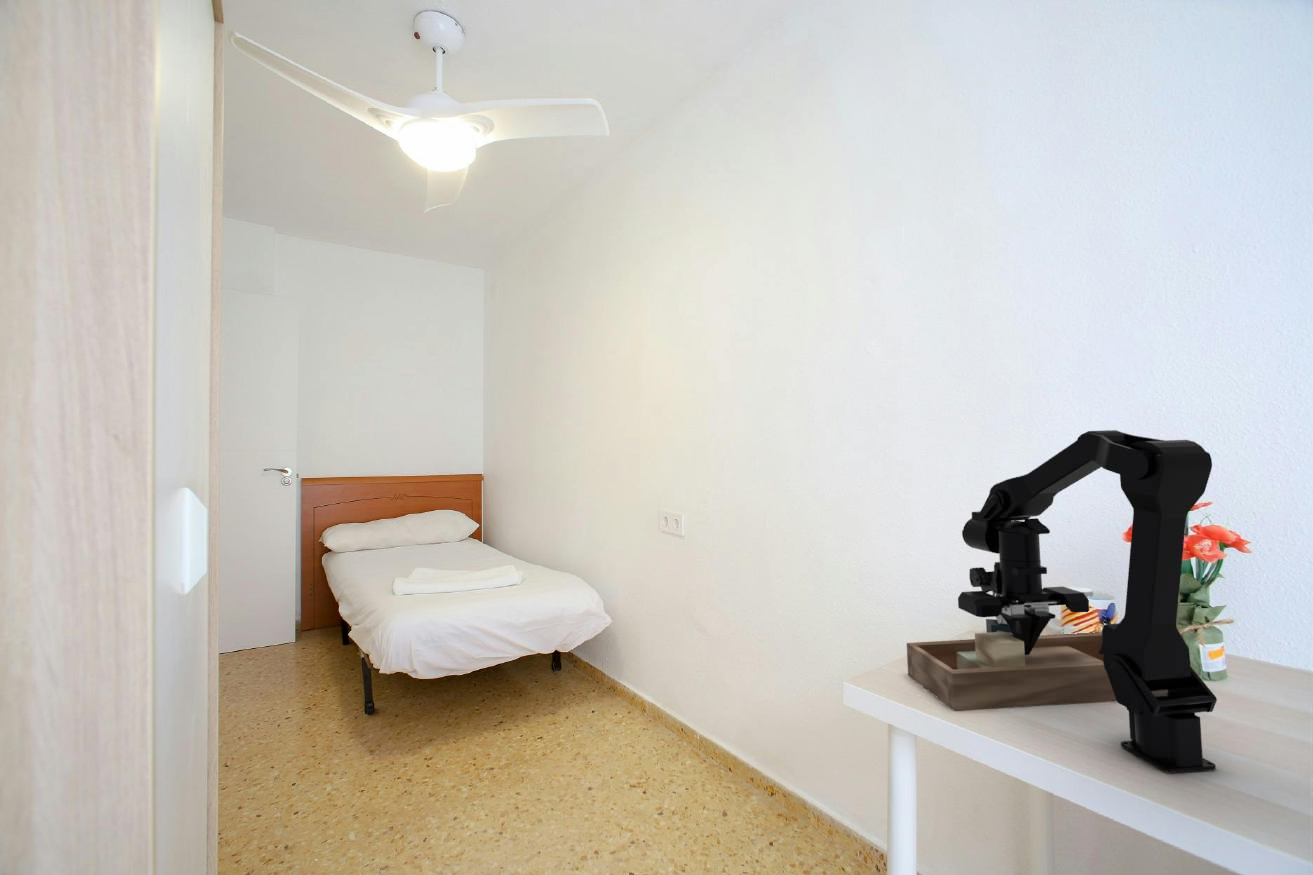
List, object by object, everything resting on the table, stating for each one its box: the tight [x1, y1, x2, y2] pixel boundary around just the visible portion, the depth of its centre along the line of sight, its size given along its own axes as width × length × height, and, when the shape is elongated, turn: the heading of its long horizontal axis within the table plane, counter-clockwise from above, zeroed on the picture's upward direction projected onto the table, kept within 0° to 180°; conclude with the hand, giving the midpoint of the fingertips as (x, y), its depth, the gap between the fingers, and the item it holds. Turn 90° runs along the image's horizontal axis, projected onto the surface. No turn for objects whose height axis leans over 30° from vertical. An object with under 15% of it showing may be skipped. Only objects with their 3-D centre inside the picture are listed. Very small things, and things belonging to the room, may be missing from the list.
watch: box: [985, 591, 1018, 637], centre depth 116 cm, size 6×8×11 cm
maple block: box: [974, 632, 1025, 667], centre depth 93 cm, size 5×5×4 cm
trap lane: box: [906, 631, 1168, 712], centre depth 93 cm, size 14×36×6 cm, turn 93°
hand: (1024, 654), depth 93 cm, fingers closed
